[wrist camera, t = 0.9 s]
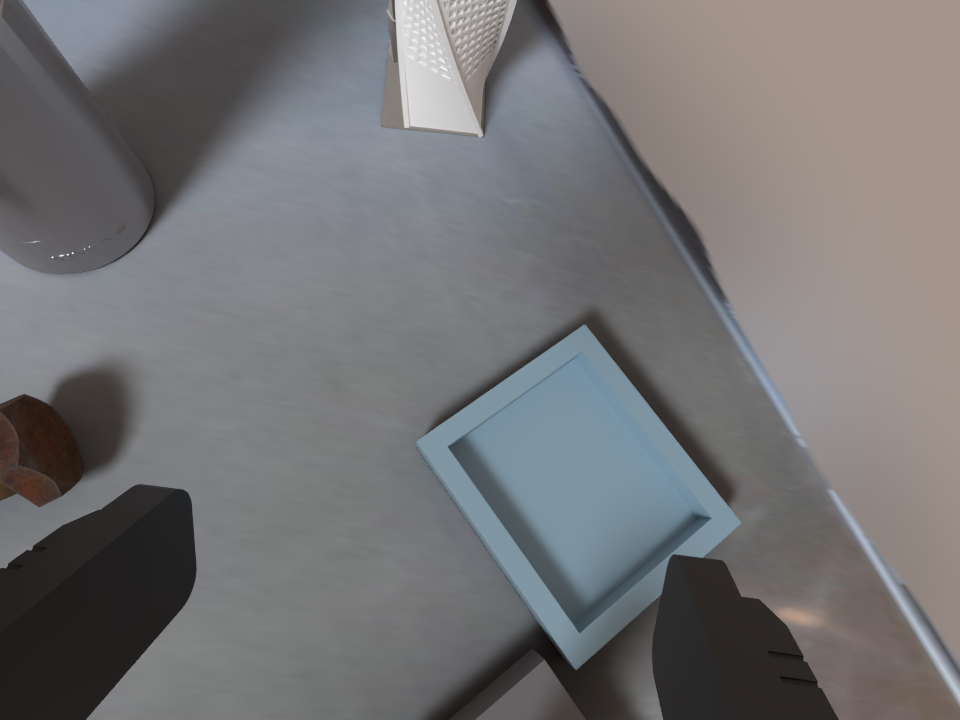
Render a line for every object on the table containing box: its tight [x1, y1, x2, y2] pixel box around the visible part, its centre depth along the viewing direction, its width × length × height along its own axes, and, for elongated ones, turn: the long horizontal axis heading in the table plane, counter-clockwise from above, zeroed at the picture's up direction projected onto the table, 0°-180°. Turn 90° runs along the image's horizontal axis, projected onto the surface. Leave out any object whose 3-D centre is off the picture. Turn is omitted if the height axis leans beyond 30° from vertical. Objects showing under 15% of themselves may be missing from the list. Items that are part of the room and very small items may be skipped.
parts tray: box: [416, 324, 741, 670], centre depth 33 cm, size 14×12×2 cm
